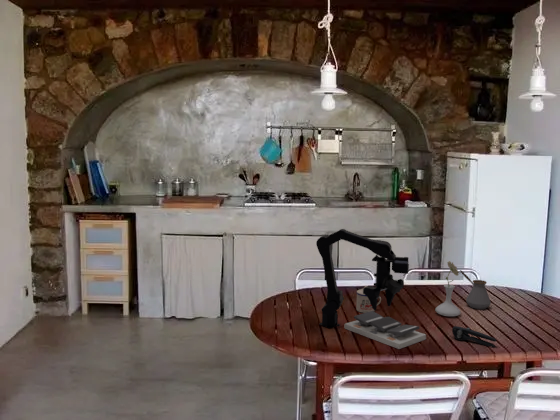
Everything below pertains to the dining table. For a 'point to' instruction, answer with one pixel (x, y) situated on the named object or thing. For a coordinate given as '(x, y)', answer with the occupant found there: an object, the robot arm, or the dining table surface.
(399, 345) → the switch panel
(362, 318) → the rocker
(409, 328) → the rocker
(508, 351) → the dining table surface
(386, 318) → the panel
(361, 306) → the teacup with lid
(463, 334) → the can opener
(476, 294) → the coffee pot
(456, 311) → the flower in vase
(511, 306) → the dining table surface
